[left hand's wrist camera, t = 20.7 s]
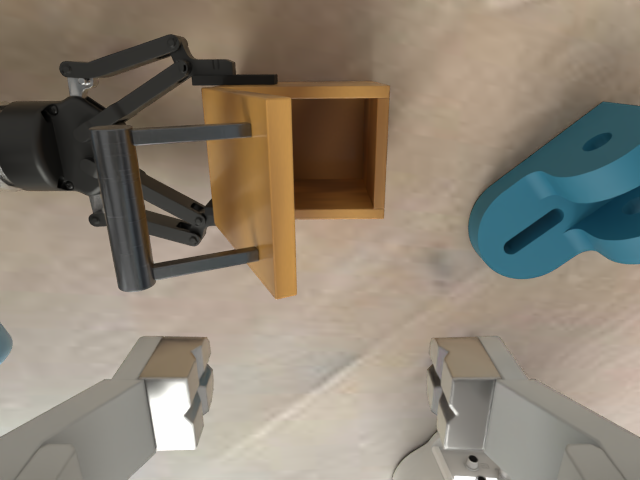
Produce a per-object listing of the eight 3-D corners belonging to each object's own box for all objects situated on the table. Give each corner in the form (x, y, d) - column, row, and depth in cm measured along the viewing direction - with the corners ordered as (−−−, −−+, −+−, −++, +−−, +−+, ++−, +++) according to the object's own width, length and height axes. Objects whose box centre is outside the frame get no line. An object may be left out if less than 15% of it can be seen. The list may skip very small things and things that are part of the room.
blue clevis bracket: (603, 101, 43) (686, 111, 34) (651, 182, 46) (741, 213, 36) (448, 217, 48) (482, 255, 38) (502, 284, 50) (546, 337, 41)
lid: (292, 97, 20) (82, 104, 17) (297, 295, 24) (125, 334, 21) (218, 87, 32) (85, 90, 29) (229, 221, 36) (112, 239, 32)
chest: (373, 81, 43) (389, 85, 32) (369, 184, 46) (383, 219, 36) (238, 82, 43) (212, 86, 32) (245, 185, 46) (223, 220, 36)
